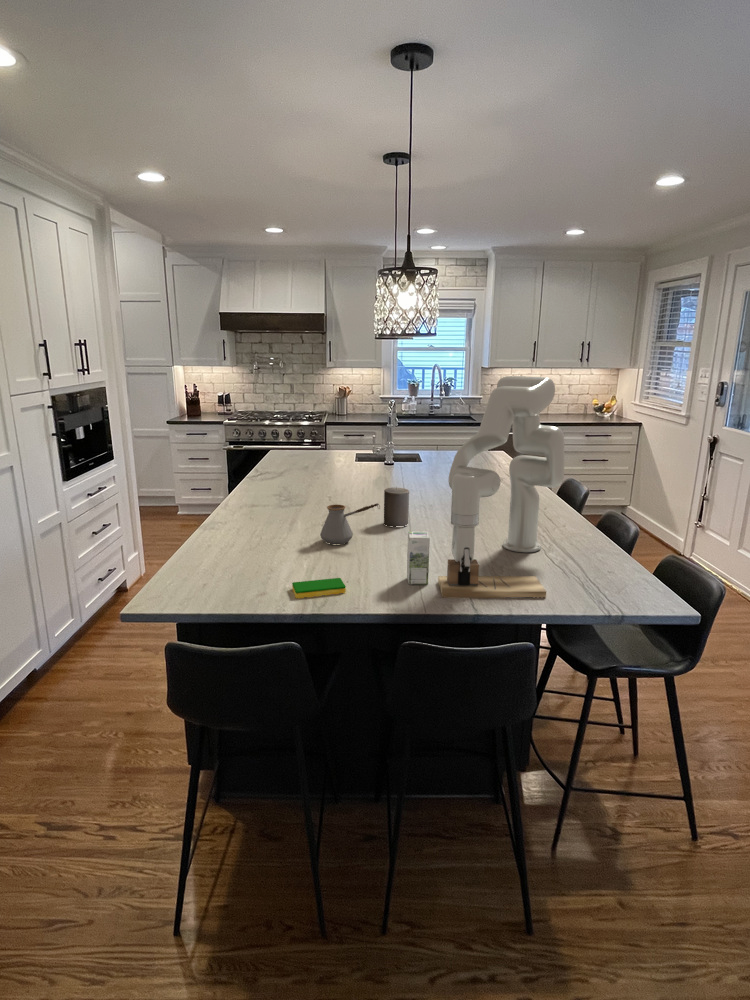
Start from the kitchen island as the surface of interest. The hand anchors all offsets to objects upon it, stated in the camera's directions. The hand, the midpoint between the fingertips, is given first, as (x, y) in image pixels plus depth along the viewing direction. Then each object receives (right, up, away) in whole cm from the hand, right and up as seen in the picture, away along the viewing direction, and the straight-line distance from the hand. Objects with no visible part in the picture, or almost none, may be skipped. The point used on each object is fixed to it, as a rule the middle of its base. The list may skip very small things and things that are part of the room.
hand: (462, 580), depth 161 cm
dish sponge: (-40, -3, 0) cm, 40 cm away
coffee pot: (-33, +7, +40) cm, 53 cm away
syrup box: (-12, -1, +6) cm, 14 cm away
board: (+8, -3, +1) cm, 8 cm away
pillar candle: (-16, +13, +63) cm, 66 cm away
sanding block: (0, -1, 0) cm, 1 cm away
